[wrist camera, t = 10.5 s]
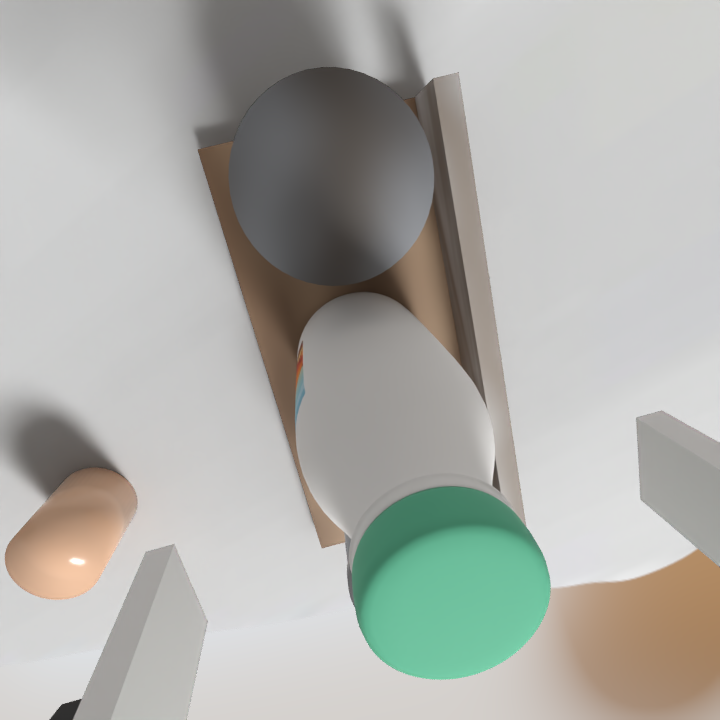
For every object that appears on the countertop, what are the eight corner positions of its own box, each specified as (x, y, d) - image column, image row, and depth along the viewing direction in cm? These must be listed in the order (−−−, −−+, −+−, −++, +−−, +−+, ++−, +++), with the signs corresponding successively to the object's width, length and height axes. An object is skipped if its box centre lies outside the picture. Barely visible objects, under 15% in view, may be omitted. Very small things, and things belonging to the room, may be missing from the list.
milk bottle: (310, 277, 28) (323, 431, 9) (437, 303, 29) (676, 485, 11) (287, 400, 30) (258, 728, 11) (406, 419, 32) (558, 743, 13)
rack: (322, 539, 35) (328, 665, 26) (200, 144, 27) (141, 109, 17) (495, 492, 36) (567, 600, 26) (428, 90, 27) (496, 24, 18)
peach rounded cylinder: (76, 540, 33) (28, 609, 28) (45, 478, 32) (-12, 537, 26) (148, 522, 34) (116, 586, 28) (120, 459, 32) (80, 513, 26)
